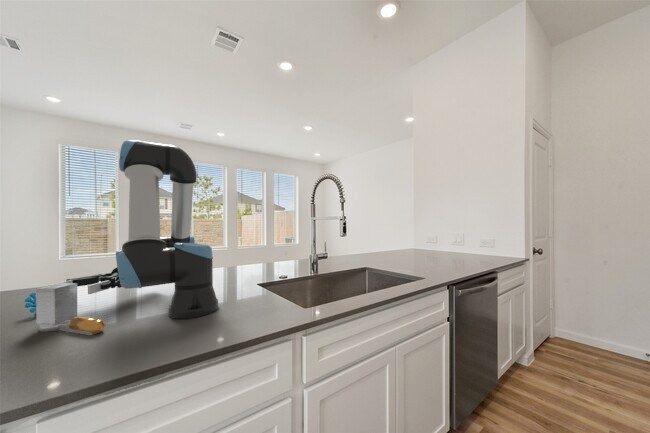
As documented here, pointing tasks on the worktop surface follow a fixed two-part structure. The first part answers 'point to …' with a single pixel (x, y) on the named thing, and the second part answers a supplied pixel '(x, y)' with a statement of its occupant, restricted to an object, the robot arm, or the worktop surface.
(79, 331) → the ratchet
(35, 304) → the gear
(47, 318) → the brushed metal block
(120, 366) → the worktop surface
